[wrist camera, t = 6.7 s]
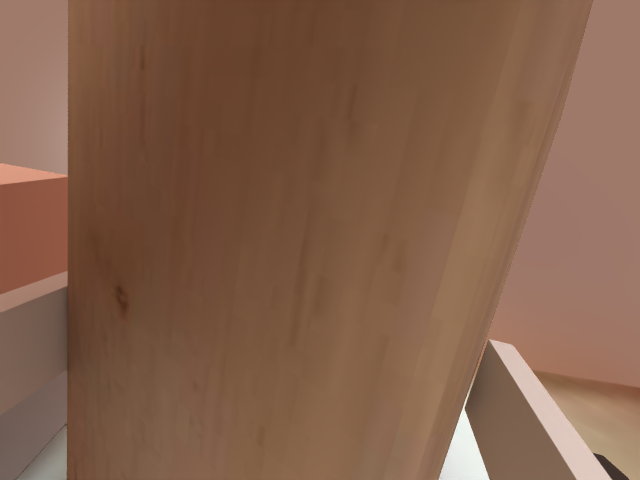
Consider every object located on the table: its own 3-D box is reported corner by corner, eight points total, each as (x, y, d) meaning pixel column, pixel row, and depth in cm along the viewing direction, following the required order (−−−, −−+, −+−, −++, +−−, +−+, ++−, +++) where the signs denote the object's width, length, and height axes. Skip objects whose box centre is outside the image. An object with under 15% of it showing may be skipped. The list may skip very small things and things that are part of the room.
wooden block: (60, 598, 12) (58, -39, 8) (253, 435, 21) (311, 83, 16) (268, 963, 8) (650, -190, 3) (411, 557, 16) (566, 102, 11)
